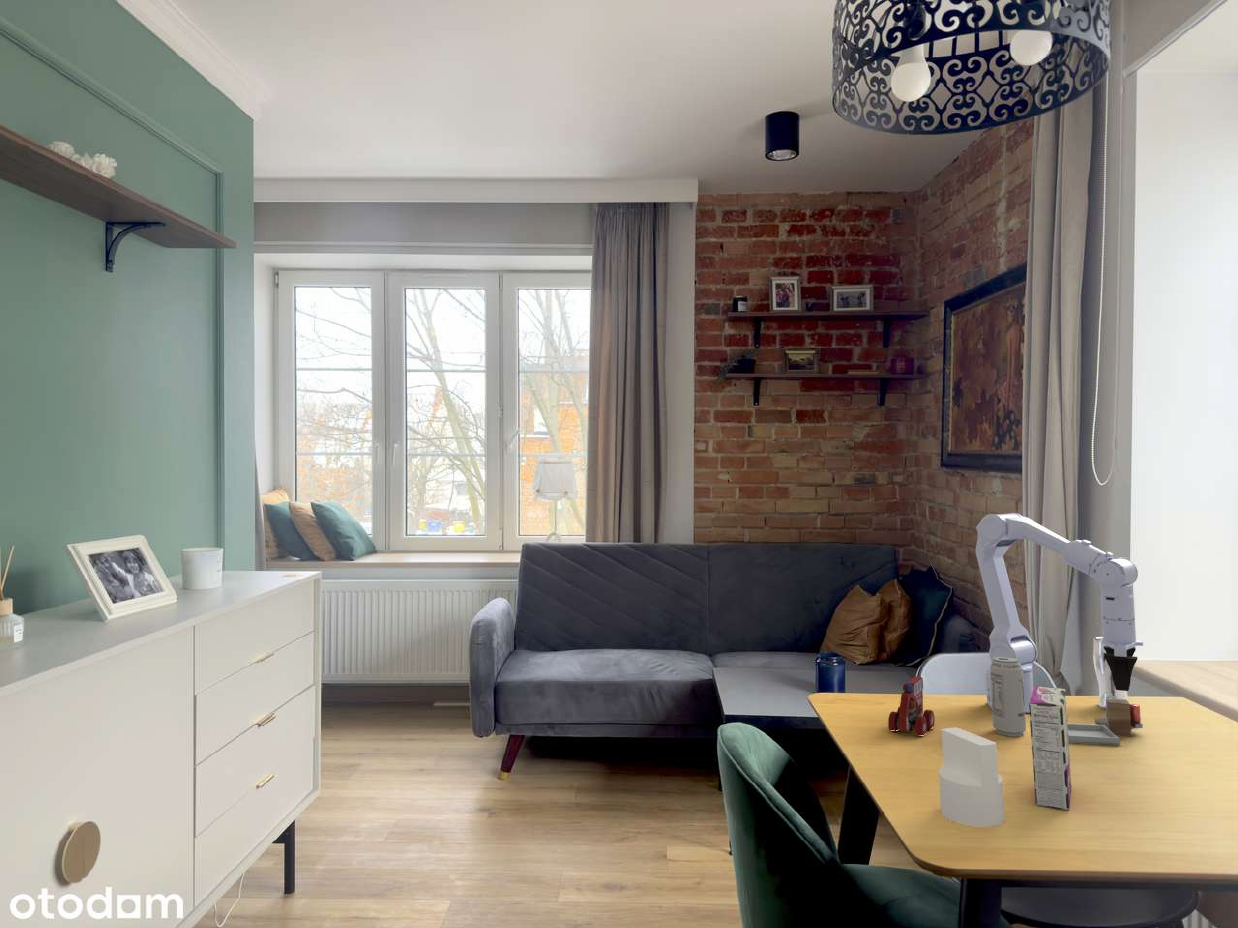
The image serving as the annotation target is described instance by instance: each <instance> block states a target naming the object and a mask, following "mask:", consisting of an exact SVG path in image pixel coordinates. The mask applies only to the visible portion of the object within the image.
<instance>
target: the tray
mask: <svg viewBox="0 0 1238 928" xmlns="http://www.w3.org/2000/svg"><path fill="white" fill-rule="evenodd" d="M1067 728H1068V743H1069V744H1085V745H1104V746H1120V745H1121V743H1120V738H1119V737H1120V736H1116V735H1115V734H1114V733H1113V732H1112V731H1111V730H1110V729H1108V728H1107V727H1106V726H1105V725H1098V724H1093V723H1092V724H1089V723H1069V722H1067Z"/></svg>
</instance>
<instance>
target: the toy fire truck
mask: <svg viewBox="0 0 1238 928" xmlns="http://www.w3.org/2000/svg"><path fill="white" fill-rule="evenodd" d="M923 689H924V680H923V677H922V676H916V675H915V676H914V677H913V678H912V679H910V680H908V682H906V683H904V684H903V685H902V690H903V692H902V693H901V695H900V702H899V706H898V708H897V711H890V713H889V715H888V720H887V721H888V722H887V725H888V730H889V731H890V730H895V731H896V730H898V729H900V730H899V731H901V732H904V733H907V732H908V733H909V732H912V731H913V729H914V733H915V735H916V734H917V735H924V734H925V733H926V734H927V731H928V730H927V729H931V728H932V727H933V726H935V719H936V717H935V712H934V711H933V710H931V709H925V710H924V704H923V703H924V701H923V700H924V699H923V698H924V697H923V694H924V693H923V691H924V690H923ZM926 734H925V735H926ZM917 735H916V736H917Z"/></svg>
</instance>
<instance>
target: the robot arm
mask: <svg viewBox="0 0 1238 928" xmlns="http://www.w3.org/2000/svg"><path fill="white" fill-rule="evenodd" d="M975 529H976V532H977V539H976V546H975V556H976V559H977V560H976V561H977V564H978V568H979V572H980V576H981V580H982V584H983V588H984V592H985V595H986V600H987V604H988V607H989V612H990V615H991V619H992V623H993V629H992V630H991V633H990V635H989V637H988V639H989V643H990V644H989V645H990V646H989V650H988V651H989V652H988V653H989V657H990V658H989V659H990V661H991V663H992V662H993V658H994V657H999V656H1006V657H1014V658H1018V659H1019V662H1020V664H1021V666H1022V667H1023V677H1024V697H1025V714H1030V710H1029V701H1030V698H1031V695H1032V692H1033V688H1034V681H1033V680H1034V677H1033V667H1034V666H1033V663H1034V662H1035V661H1036V660H1037V659H1038V653H1039V652H1038V651H1039V650H1038V648H1037V644H1035V642H1034V640H1032V637H1031V636H1030V632H1029V630H1028V629H1027V628H1025V626H1023V625H1022V624H1021V622H1020V618H1019V615H1018V611H1017V610H1018V609H1017V607H1016V602H1015V598H1014V594H1013V590H1012V587H1011V584H1010V579H1009V575H1008V573H1007V567H1006V564H1005V560H1004V555H1005V554H1006V552H1007V551H1008V550H1009V548H1010V547H1012V545H1014V544H1015V543H1017V542H1018V541H1020V540H1028V541H1030V542H1032V543H1035V544H1037V545H1039V546H1042V547H1043V548H1046V549H1048V550H1049V551H1050V550H1051V551H1052V552H1055V553H1056V554H1059V555H1060V556H1061V558H1062V561H1063V562H1064V564H1066V565H1068V566H1070V567H1072V568H1074V569H1075V570H1078V571H1079V572H1082V573H1083V574H1085V575H1087V576H1088V577H1091V578H1093V579H1094V582H1095V583H1096V584H1097V585H1098V586H1099V587H1098V588H1099V592H1100V593H1099V594H1100V595H1099V596H1100V609H1101V610H1100V611H1101V614H1100V616H1101V632H1102V636H1101V637H1103V638H1102V643H1103V644H1104V645H1107V646H1103V648H1104V650H1105V651H1106V653H1104V658H1105V660H1106V661H1107V663H1108V665H1109V667H1110V670H1111V673H1112V677H1113V682H1114V686H1115V688H1116V690H1120V691H1127V692H1129V691H1130V686H1131V679H1132V673H1133V670H1134V667H1135V665H1136V663H1137V661H1138V656H1134V654H1135V652H1136V650H1137V649H1136V647H1137V646H1139V647H1140V646H1142V647H1143V646H1144V641H1143V640H1137V633H1136V615H1135V611H1136V610H1135V598H1134V597H1135V596H1134V583H1136V581H1137V579H1138V576H1139V571H1138V569H1137V566H1136V565H1135V564H1134V563H1133V562H1132V561H1131V560H1129V559H1128V558H1126V557H1123V556H1122V557H1114V553H1112V552H1110V551H1106V552H1105V551H1104V550H1100V549H1099V548H1097V547H1095V546H1093V545H1091V544H1092V542H1091V541H1089V540H1087V539H1082V540H1080V539H1075V540H1072V541H1070V540H1068V539H1066V538H1064V537H1063V536H1061V535H1059V534H1057V533H1055V532H1053V531H1052V530H1050V529H1048V528H1046V527H1044V526H1042V525H1041V524H1039V523H1038V522H1035V521H1034V520H1033V519H1031V518H1029V517H1027V516H1023V515H1021V514H1019V513H1017V512H1009V513H1001V514H999V513H995V514H993V513H989V514H986V515H984V516H983V517H982V519H981V520H980V521H979V522H978V524H977V525H976V527H975ZM985 680H986V681H985V682H986V685H985V686H986V703H987V705H988V706H989V708H990V709H991V710H992V690H991V669H990V668H989V667H988V668H986V672H985Z"/></svg>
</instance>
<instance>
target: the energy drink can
mask: <svg viewBox="0 0 1238 928" xmlns="http://www.w3.org/2000/svg"><path fill="white" fill-rule="evenodd" d="M989 666H990V669H991V690H992V709H991V711H992V726H993V729H995V732H996V733H997V734H999V735H1000V736H1001V735H1002V736H1007V737H1023V735H1024V732H1026V731H1027V723H1026V722H1027V720H1026V719H1027V717H1026V713H1025V697H1024V677H1023V667H1022V666H1021V664H1020V662H1019V659H1018V658H1014V657H1006V656H999V657H994V658H993V662H992V661H991V664H990V665H989Z"/></svg>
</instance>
